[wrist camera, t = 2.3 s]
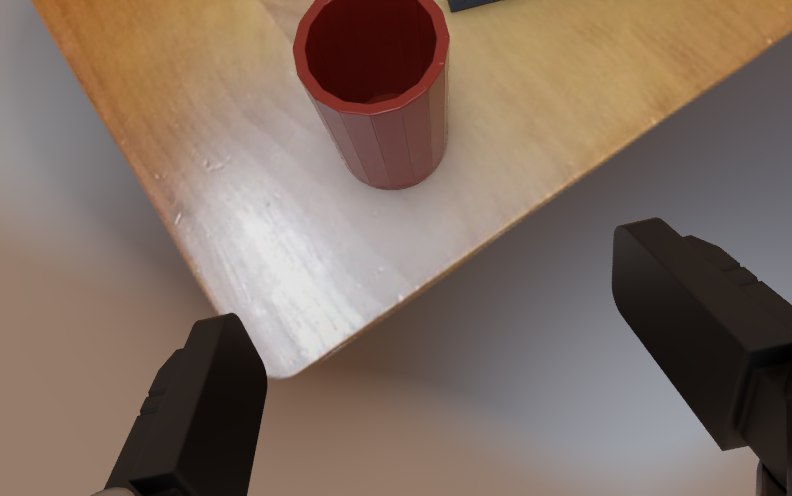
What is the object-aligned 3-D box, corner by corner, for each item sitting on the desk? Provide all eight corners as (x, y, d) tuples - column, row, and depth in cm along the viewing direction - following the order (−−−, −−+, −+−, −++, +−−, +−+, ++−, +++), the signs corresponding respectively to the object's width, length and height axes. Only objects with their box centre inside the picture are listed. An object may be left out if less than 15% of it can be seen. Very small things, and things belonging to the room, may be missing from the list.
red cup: (351, 201, 27) (307, 131, 18) (332, 105, 28) (282, -3, 20) (457, 176, 27) (465, 92, 18) (432, 80, 28) (428, -42, 19)
